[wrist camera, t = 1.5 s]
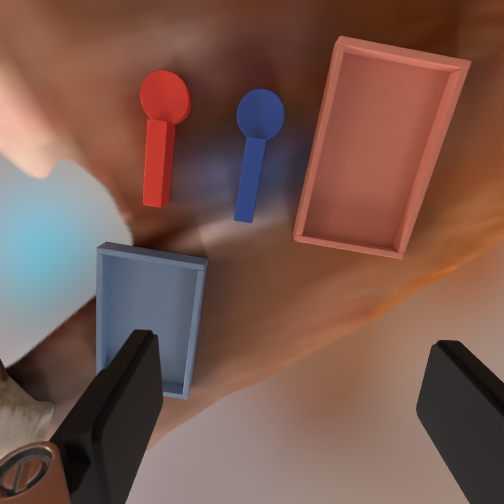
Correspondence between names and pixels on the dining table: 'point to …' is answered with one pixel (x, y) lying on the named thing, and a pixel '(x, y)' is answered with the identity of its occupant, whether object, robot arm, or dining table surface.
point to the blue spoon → (255, 143)
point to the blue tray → (150, 307)
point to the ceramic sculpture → (20, 415)
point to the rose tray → (376, 145)
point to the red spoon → (162, 131)
